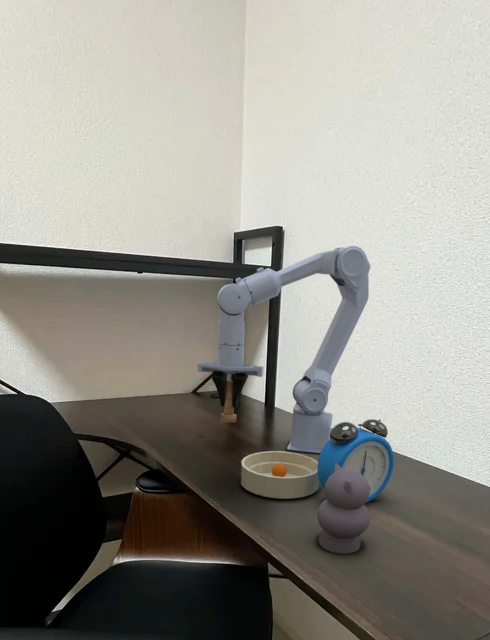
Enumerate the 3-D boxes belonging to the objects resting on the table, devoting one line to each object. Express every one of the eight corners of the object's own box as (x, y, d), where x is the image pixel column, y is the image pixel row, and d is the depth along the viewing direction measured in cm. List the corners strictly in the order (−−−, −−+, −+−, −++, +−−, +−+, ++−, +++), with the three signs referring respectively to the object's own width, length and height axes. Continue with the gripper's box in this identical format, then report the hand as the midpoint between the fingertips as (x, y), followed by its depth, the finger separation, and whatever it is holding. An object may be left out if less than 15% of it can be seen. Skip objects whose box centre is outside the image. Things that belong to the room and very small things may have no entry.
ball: (290, 467, 104) (286, 464, 101) (285, 481, 103) (281, 478, 101) (277, 464, 105) (272, 460, 102) (272, 478, 105) (267, 474, 102)
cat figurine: (373, 556, 77) (385, 481, 72) (321, 558, 76) (330, 482, 71) (356, 530, 84) (365, 461, 80) (309, 531, 83) (315, 461, 79)
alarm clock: (331, 512, 91) (341, 429, 85) (312, 498, 96) (319, 419, 90) (389, 500, 96) (401, 422, 90) (368, 488, 101) (378, 413, 95)
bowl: (321, 476, 107) (323, 455, 105) (314, 505, 93) (316, 482, 91) (250, 468, 109) (250, 448, 107) (232, 495, 96) (232, 472, 94)
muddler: (238, 421, 119) (241, 381, 116) (231, 423, 116) (233, 382, 113) (225, 419, 120) (227, 379, 118) (217, 421, 117) (219, 380, 115)
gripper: (267, 344, 114) (264, 405, 120) (204, 339, 117) (203, 399, 122) (261, 348, 108) (258, 412, 113) (194, 343, 110) (194, 406, 116)
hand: (229, 406), depth 117 cm, fingers closed on muddler, 2 cm apart
